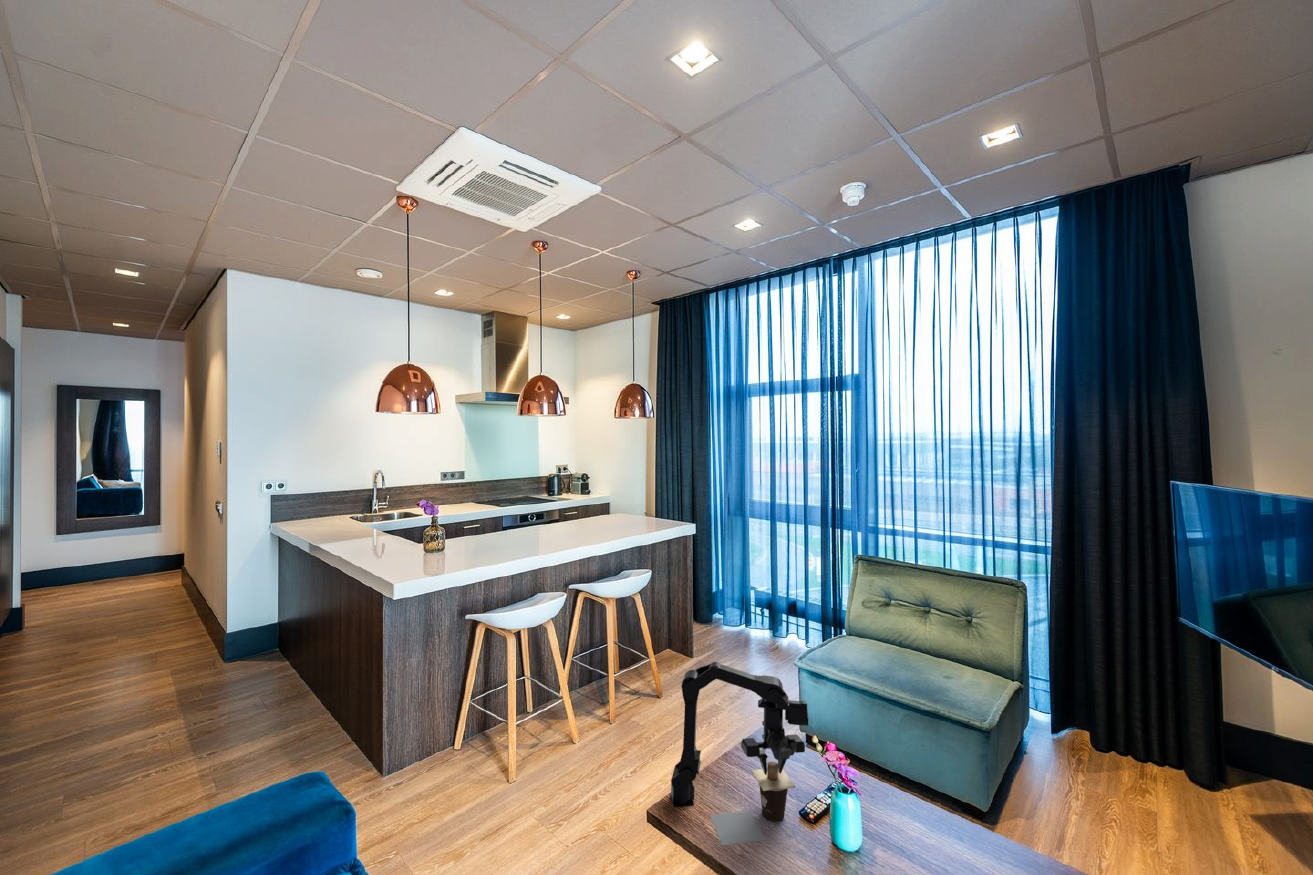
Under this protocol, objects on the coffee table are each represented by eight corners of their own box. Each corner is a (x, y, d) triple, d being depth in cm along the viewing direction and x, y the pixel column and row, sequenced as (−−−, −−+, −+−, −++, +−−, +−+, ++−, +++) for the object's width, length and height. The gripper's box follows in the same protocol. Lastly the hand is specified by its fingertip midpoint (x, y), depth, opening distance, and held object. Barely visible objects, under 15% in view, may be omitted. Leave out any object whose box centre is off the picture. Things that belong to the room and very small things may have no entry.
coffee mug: (790, 825, 162) (791, 791, 162) (761, 824, 162) (761, 790, 162) (782, 800, 173) (782, 768, 174) (755, 799, 173) (755, 767, 174)
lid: (763, 790, 162) (763, 775, 162) (751, 771, 172) (751, 756, 172) (795, 787, 164) (795, 772, 164) (781, 768, 173) (781, 754, 174)
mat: (722, 846, 153) (722, 845, 153) (709, 815, 165) (709, 814, 165) (766, 841, 155) (766, 839, 155) (750, 811, 168) (750, 810, 168)
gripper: (753, 737, 159) (753, 792, 158) (813, 732, 162) (813, 786, 162) (740, 719, 170) (740, 770, 169) (797, 714, 173) (796, 765, 173)
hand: (772, 773), depth 168 cm, fingers open, 4 cm apart
